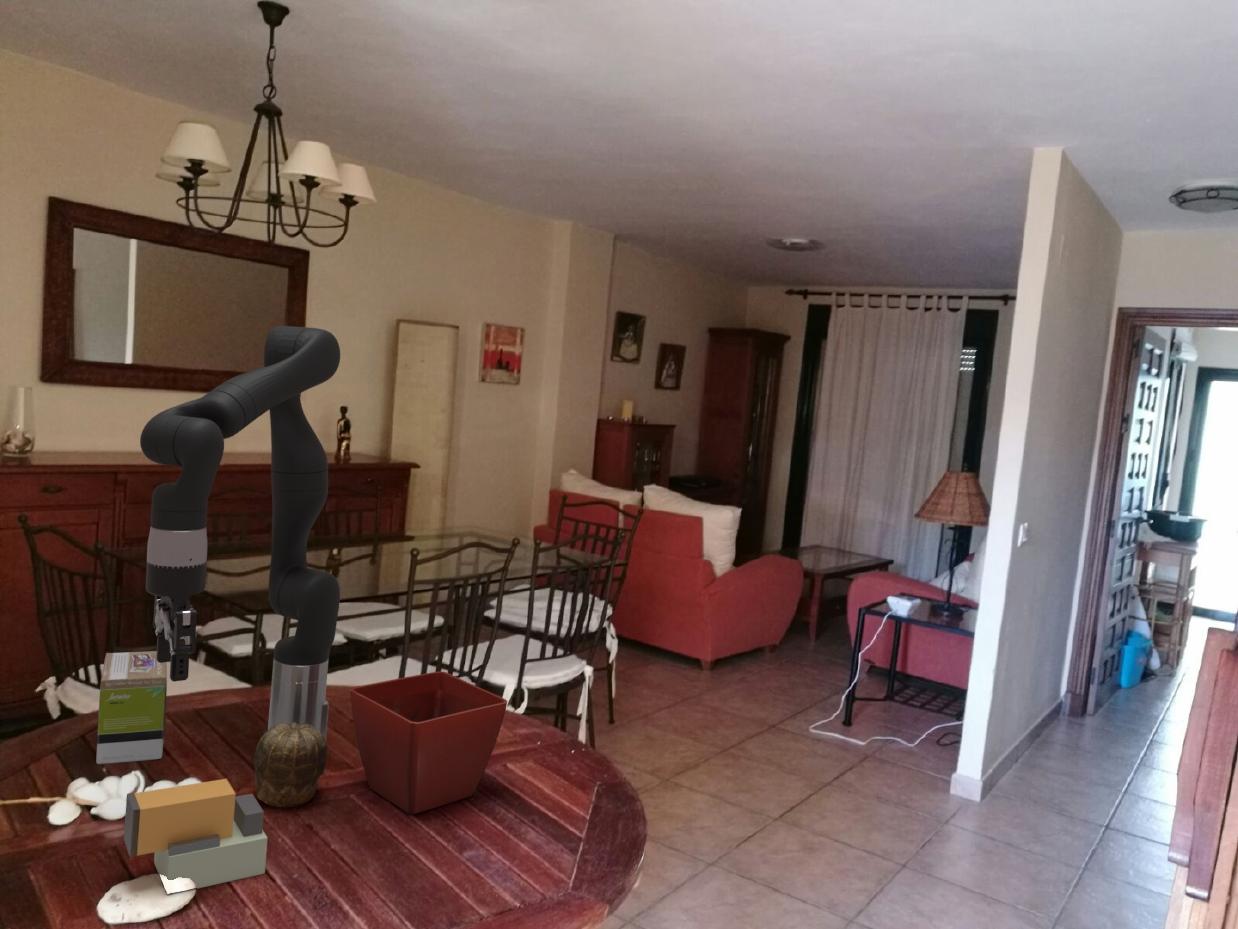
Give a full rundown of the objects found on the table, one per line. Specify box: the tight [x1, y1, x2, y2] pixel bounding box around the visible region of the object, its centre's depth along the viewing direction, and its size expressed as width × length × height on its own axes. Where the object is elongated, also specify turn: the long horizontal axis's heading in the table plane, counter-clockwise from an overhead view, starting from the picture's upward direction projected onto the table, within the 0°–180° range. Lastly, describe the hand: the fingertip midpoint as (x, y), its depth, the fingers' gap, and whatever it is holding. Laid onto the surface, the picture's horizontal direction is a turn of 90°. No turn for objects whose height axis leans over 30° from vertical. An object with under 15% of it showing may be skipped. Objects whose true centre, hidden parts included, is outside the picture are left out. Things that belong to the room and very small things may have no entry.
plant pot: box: [349, 670, 508, 815], centre depth 149 cm, size 19×19×17 cm
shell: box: [253, 722, 328, 809], centre depth 142 cm, size 11×11×12 cm
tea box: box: [95, 650, 168, 765], centre depth 155 cm, size 15×10×15 cm, turn 27°
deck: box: [153, 793, 268, 889], centre depth 120 cm, size 12×9×8 cm
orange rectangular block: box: [123, 778, 237, 858], centre depth 118 cm, size 12×5×6 cm, turn 127°
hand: (171, 670), depth 127 cm, fingers open, 8 cm apart
